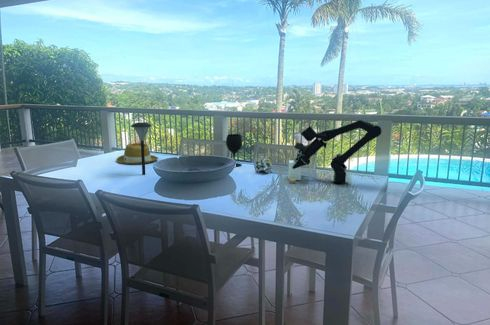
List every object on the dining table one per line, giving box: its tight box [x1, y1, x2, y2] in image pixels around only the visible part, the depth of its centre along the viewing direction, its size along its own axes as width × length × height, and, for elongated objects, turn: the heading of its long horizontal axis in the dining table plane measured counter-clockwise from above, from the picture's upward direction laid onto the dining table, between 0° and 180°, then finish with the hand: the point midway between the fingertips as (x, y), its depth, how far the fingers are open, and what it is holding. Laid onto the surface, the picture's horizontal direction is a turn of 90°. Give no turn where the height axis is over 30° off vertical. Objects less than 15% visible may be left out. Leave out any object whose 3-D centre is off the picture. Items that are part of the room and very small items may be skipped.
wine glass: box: [225, 133, 243, 168], centre depth 239 cm, size 10×10×20 cm
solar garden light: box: [130, 121, 153, 176], centre depth 210 cm, size 12×12×30 cm
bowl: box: [289, 178, 296, 184], centre depth 197 cm, size 4×4×3 cm
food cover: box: [287, 159, 302, 180], centre depth 204 cm, size 7×7×10 cm
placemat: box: [275, 175, 310, 188], centre depth 202 cm, size 22×14×1 cm, turn 161°
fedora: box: [115, 142, 159, 165], centre depth 251 cm, size 27×29×12 cm
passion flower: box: [255, 156, 273, 174], centre depth 221 cm, size 11×11×12 cm
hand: (292, 166), depth 204 cm, fingers closed on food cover, 7 cm apart
